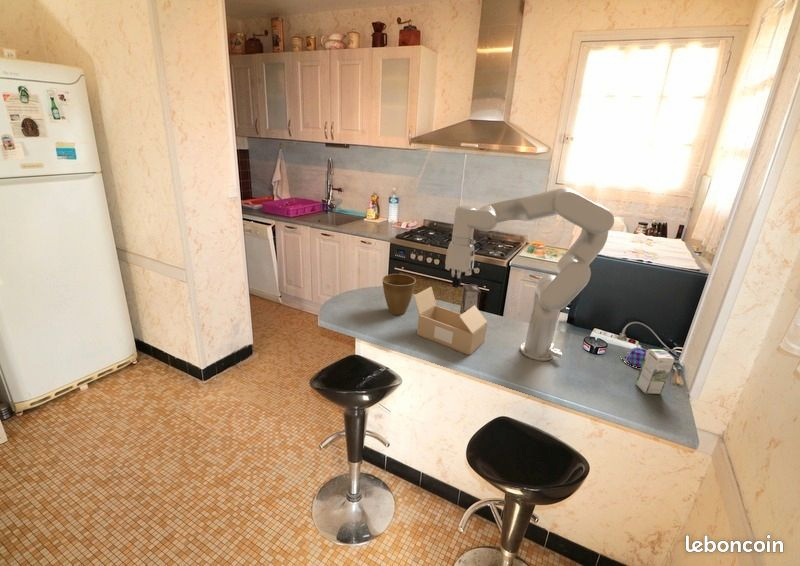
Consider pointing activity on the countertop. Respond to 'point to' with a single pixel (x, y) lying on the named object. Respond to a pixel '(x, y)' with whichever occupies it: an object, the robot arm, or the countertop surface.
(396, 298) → the plant pot
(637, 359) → the purple plaid hat
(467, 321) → the near flap
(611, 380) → the countertop surface
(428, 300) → the far flap
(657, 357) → the syrup box
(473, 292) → the coffee box
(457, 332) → the carton
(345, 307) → the countertop surface
